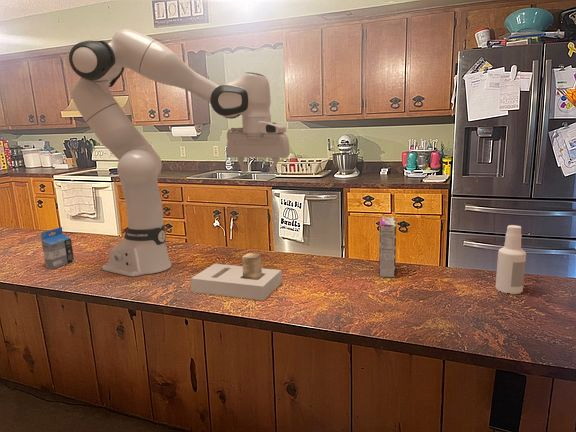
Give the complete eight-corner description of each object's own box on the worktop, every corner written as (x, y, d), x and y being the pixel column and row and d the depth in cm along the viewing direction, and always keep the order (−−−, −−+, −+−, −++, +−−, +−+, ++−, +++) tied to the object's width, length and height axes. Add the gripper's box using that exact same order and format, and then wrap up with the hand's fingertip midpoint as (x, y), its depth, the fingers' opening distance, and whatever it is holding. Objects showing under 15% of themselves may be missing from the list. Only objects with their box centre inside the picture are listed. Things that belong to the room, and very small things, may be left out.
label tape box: (53, 269, 149) (49, 233, 147) (44, 268, 151) (39, 232, 148) (74, 261, 157) (70, 227, 155) (65, 260, 159) (61, 226, 156)
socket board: (191, 291, 127) (190, 278, 126) (215, 275, 140) (214, 263, 139) (263, 300, 120) (263, 286, 119) (281, 283, 133) (281, 270, 132)
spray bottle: (524, 295, 120) (530, 230, 116) (496, 293, 122) (501, 228, 119) (521, 287, 126) (526, 224, 123) (494, 284, 129) (499, 223, 125)
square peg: (243, 290, 127) (242, 256, 125) (249, 286, 131) (248, 252, 129) (256, 292, 126) (255, 258, 124) (262, 287, 129) (261, 254, 127)
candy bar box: (378, 266, 147) (379, 216, 144) (394, 266, 146) (395, 217, 143) (378, 277, 136) (379, 224, 133) (395, 278, 135) (397, 224, 132)
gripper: (222, 128, 140) (224, 172, 143) (283, 127, 133) (284, 173, 136) (231, 127, 146) (233, 170, 149) (290, 126, 139) (291, 171, 142)
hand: (258, 172), depth 142 cm, fingers open, 8 cm apart
